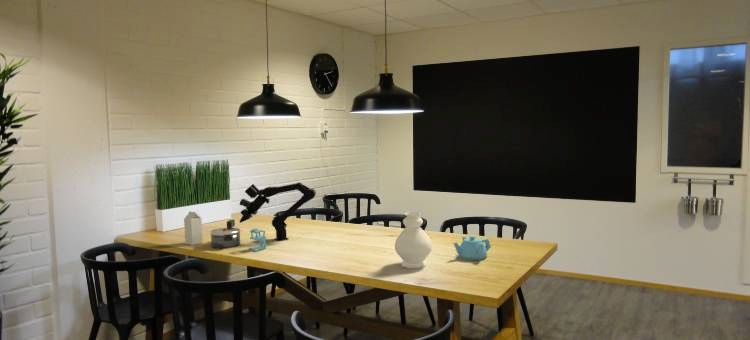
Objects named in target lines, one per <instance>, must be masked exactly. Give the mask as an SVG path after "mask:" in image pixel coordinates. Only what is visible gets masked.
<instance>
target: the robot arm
mask: <svg viewBox="0 0 750 340" xmlns="http://www.w3.org/2000/svg"><path fill="white" fill-rule="evenodd" d="M291 191H299V193H301V194H303V195H302V196H301V197H300V199H298V200H297V201H296V202H294V203H293V204H292V205H291V206H290V207H289V208H288V209H287V210H286V211H285V210H284V212H282V213H281V212H278V214H276V215H275V216H273V218H272V221H271V226H272V227H274V230H275V238H274V240H275V241H279V242H281V241H286V240H289V239H290V238H289V237H287V225H288V224H287V223H286V222H285V221H286V220H287V219H288V218H289V217H290V216H291V215H292V214H293V213H294V212H296V211H297V210H298V209H299V208H301V207H302V206H303V205H304V204H306V203H307V202H310V201H312V200H314V198H315V197H316V195H317V191H316V190H315V189H314V188H310V187H308V186H306V185H305V184H303V183H302V182H297V183H291V184H290V183H289V184H285V185H281V186H267V187H264V188H263V189H259V188H258V187H257V186H256V184H253V183H252V184H251V185H250V186H249V187H248V188H246V190H244V193H245V194H246V195H248V197H250V199H253V201H249V200H248V199H245V198H242V199H241V200H239V205H240V206H243V207H244V209H242V210H241V211H240V214H241V218H240V220H239V223H240V224H241V223H243V222H245V221H248V220H250V219H251V218H253V216H255V215H257V214H258V211H259V210H260V209H261V208H262V207H263V205H264V204H265V203H266V204H269V203H270V197H272V196H275V195H278V194H282V193H288V192H291Z"/></svg>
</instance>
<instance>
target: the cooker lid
mask: <svg viewBox="0 0 750 340" xmlns="http://www.w3.org/2000/svg"><path fill="white" fill-rule="evenodd" d="M235 226H236V220H235V219H229V220H227V221H226V227H219V228H214V229H211V230H210V231H209V232H210V236H211V235H212V236H229V235H235V234H238V233H241V229H240V228H239V227H235Z"/></svg>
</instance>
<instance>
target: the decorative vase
mask: <svg viewBox="0 0 750 340" xmlns="http://www.w3.org/2000/svg"><path fill="white" fill-rule="evenodd" d="M421 215H422V214H421V212H418V211H408V212H405V213H404V216H406V217H404V218H403V220H402V224H403V225H404V226H405V228H404V229H403V230H402V231H401V232H400V233H399V235H398V236H397V238H396V239H395V243H394V250H395V252H396V253H397V255H398V256H399V258H401V260H402V261H401V262H400V267H403V268H408V269H420V268H424V267H426V266H428V263H427V261H425V260H426V259H427V258H428V256H429V255H430V253H431V252H432V250H433V243H432V239H431V238H430V237H429V235H428V234H427V233H426V232H425V231H424V229H423V228H422V227H421V226H422V225H423V223H424V221H423V219H422V218H421Z"/></svg>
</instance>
